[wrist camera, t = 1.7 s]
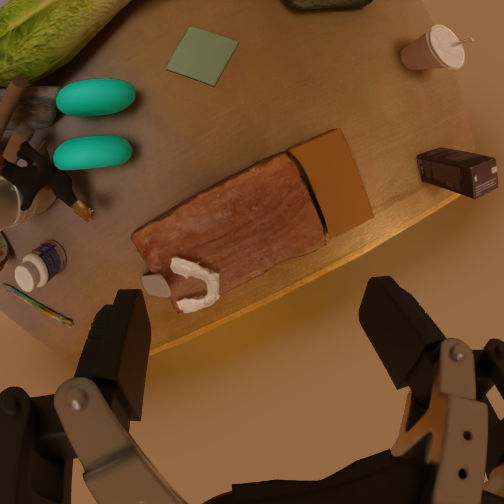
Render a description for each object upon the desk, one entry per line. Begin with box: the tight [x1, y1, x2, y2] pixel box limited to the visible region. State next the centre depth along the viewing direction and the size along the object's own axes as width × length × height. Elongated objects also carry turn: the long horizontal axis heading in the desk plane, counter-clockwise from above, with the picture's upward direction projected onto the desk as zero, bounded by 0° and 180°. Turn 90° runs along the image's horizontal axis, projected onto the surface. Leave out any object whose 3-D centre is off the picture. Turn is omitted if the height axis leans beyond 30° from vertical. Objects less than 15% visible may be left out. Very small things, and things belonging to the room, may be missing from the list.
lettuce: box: [0, 0, 132, 87], centre depth 19 cm, size 15×25×16 cm
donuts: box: [53, 78, 136, 170], centre depth 27 cm, size 10×10×10 cm
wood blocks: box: [0, 75, 93, 214], centre depth 25 cm, size 25×3×10 cm
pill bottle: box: [15, 241, 66, 292], centre depth 33 cm, size 5×5×9 cm
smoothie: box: [400, 25, 474, 70], centre depth 23 cm, size 6×6×14 cm
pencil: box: [3, 284, 73, 327], centre depth 40 cm, size 1×1×18 cm
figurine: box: [1, 141, 94, 222], centre depth 26 cm, size 11×7×15 cm
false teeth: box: [170, 256, 220, 313], centre depth 35 cm, size 8×6×2 cm
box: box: [417, 148, 498, 199], centre depth 30 cm, size 6×4×12 cm
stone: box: [0, 86, 62, 130], centre depth 24 cm, size 17×5×10 cm
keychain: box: [141, 274, 171, 298], centre depth 36 cm, size 10×1×3 cm
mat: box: [165, 26, 239, 87], centre depth 29 cm, size 7×7×1 cm
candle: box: [0, 176, 56, 231], centre depth 26 cm, size 7×7×15 cm
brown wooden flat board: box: [131, 128, 374, 313], centre depth 36 cm, size 13×30×3 cm, turn 116°
